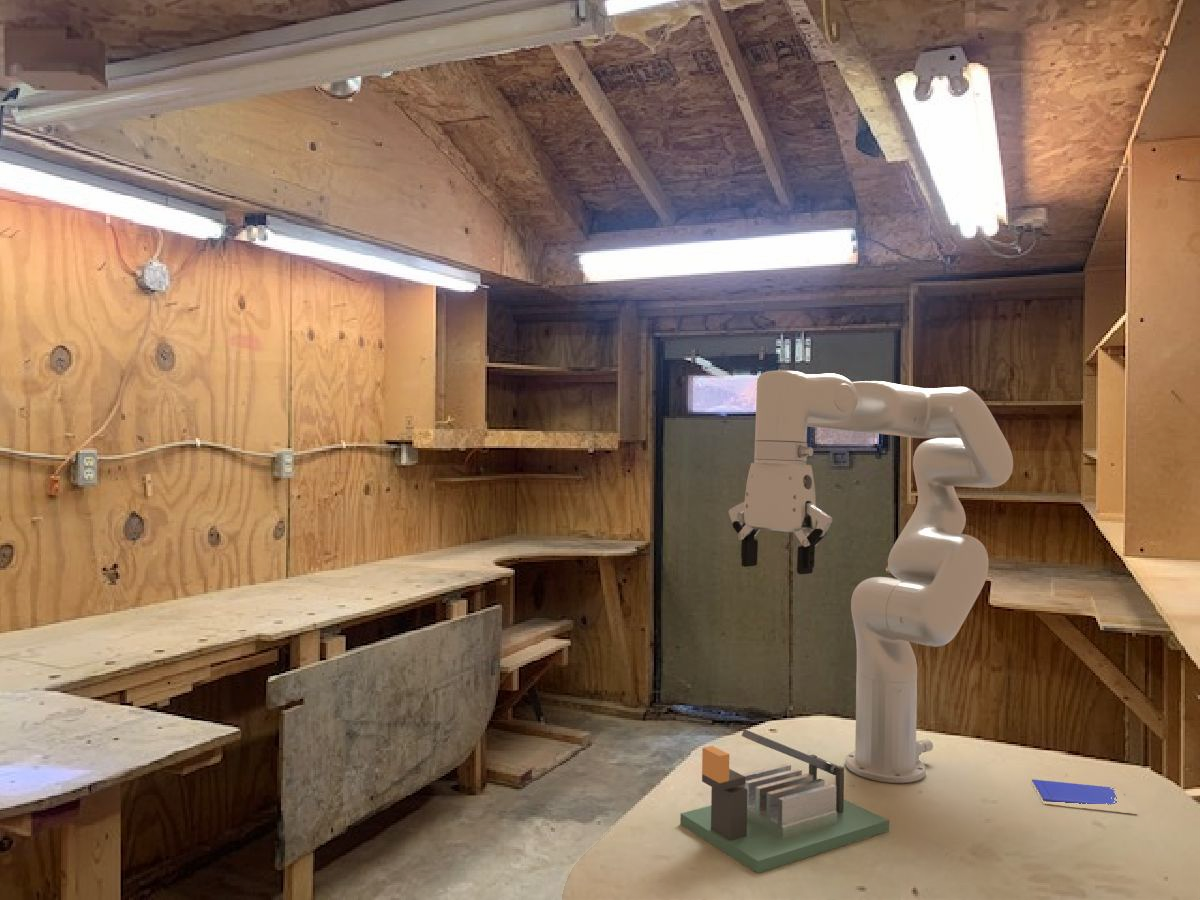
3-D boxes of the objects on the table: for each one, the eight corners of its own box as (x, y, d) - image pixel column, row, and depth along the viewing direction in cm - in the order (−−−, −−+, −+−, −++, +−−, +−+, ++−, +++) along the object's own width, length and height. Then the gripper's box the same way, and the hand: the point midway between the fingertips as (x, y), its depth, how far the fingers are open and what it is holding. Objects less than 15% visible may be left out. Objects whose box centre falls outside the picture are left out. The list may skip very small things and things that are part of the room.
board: (805, 790, 133) (806, 740, 133) (889, 830, 119) (889, 774, 119) (680, 824, 121) (681, 768, 121) (757, 873, 107) (758, 810, 107)
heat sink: (785, 796, 127) (786, 763, 127) (837, 822, 118) (837, 786, 118) (733, 810, 122) (733, 775, 122) (782, 838, 113) (783, 800, 113)
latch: (727, 775, 117) (728, 742, 117) (745, 784, 114) (745, 750, 114) (702, 781, 115) (702, 747, 115) (719, 790, 112) (719, 756, 112)
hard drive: (1118, 786, 134) (1031, 777, 137) (1136, 807, 126) (1043, 797, 129) (1118, 796, 134) (1031, 787, 137) (1136, 818, 126) (1043, 808, 129)
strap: (818, 768, 126) (821, 758, 126) (837, 776, 123) (840, 766, 123) (739, 736, 118) (743, 726, 118) (757, 744, 115) (760, 734, 115)
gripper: (845, 456, 125) (841, 575, 124) (746, 454, 137) (743, 561, 137) (818, 454, 119) (814, 578, 119) (718, 452, 132) (714, 564, 131)
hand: (776, 569), depth 128 cm, fingers open, 9 cm apart
